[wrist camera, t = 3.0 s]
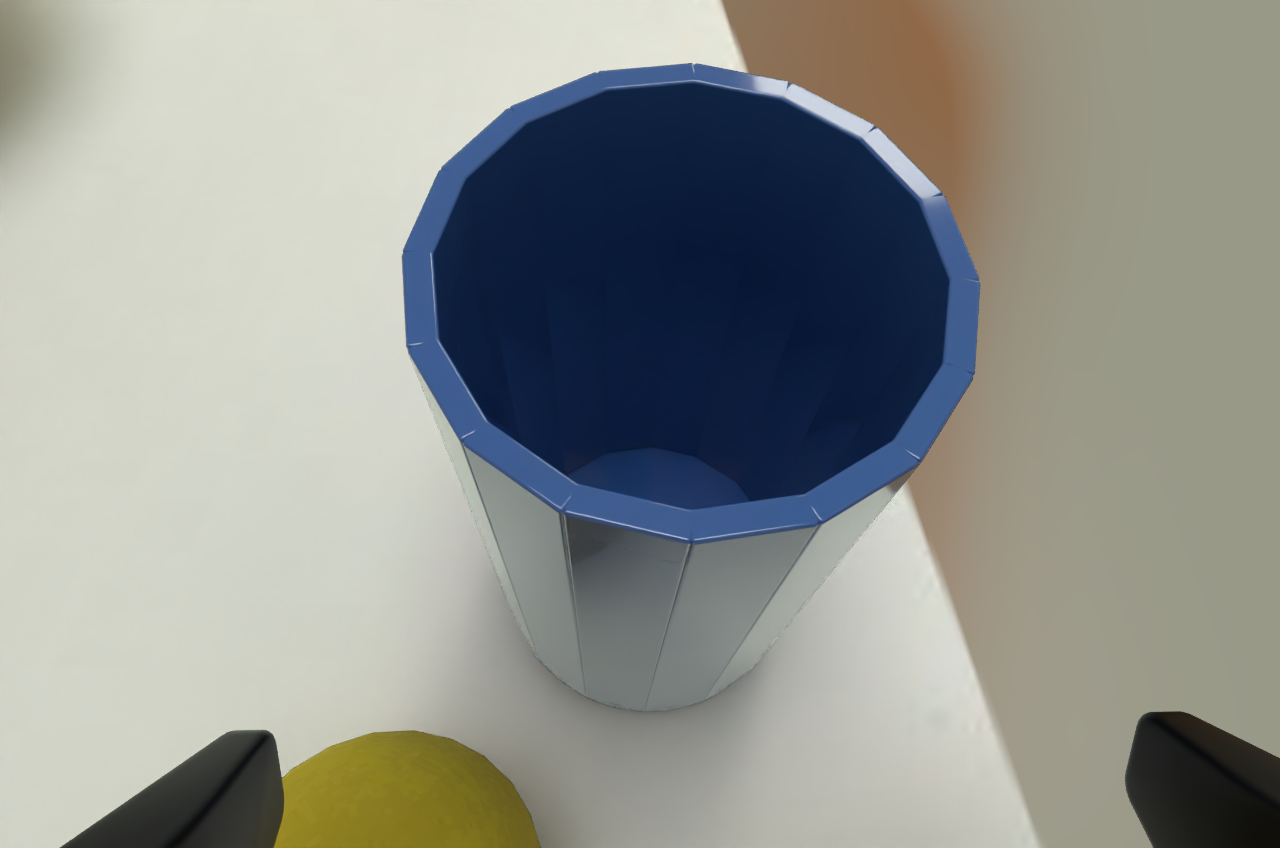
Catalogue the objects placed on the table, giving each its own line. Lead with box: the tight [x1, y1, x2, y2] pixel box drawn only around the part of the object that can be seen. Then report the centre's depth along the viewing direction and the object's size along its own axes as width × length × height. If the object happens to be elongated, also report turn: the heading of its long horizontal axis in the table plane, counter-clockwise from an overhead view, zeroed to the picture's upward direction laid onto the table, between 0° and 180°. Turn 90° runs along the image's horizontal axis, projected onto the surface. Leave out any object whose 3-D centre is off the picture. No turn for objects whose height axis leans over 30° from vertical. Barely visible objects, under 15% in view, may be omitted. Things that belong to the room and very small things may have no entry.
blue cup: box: [402, 63, 980, 712], centre depth 16 cm, size 7×7×13 cm
